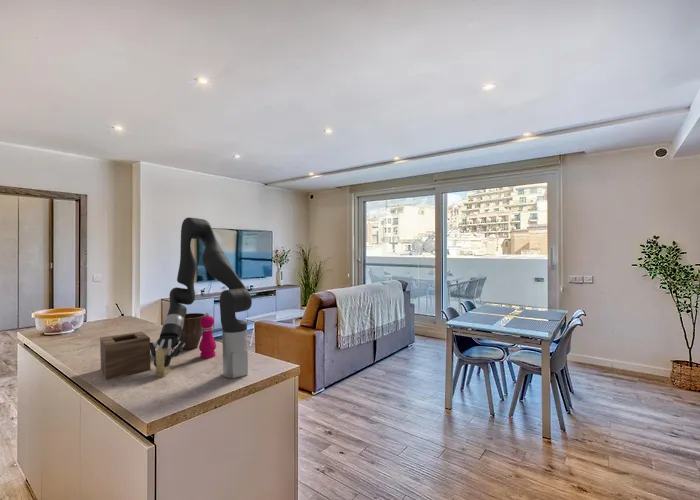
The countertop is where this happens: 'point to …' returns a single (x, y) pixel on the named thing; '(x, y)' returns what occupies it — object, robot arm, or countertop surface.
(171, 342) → the robot arm
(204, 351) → the pepper mill
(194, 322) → the plant pot
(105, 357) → the wooden box
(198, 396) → the countertop surface
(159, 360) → the beige rectangular block
